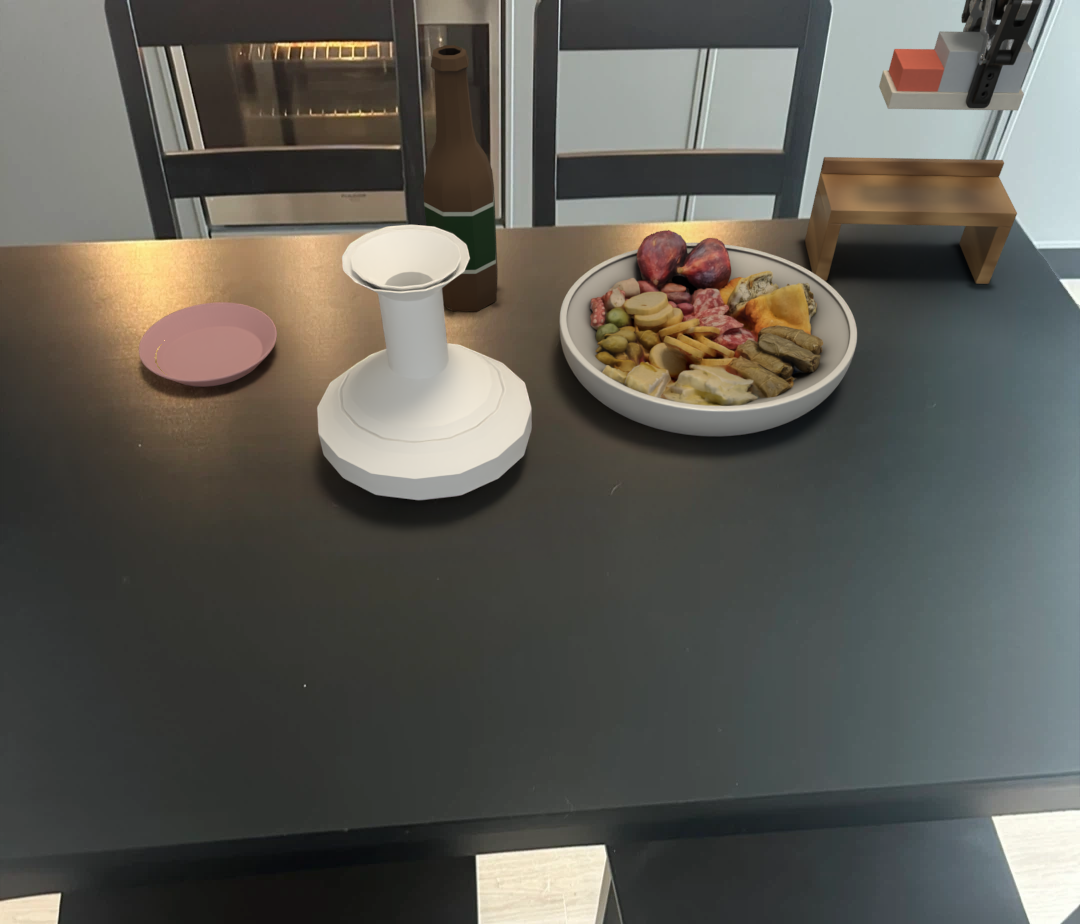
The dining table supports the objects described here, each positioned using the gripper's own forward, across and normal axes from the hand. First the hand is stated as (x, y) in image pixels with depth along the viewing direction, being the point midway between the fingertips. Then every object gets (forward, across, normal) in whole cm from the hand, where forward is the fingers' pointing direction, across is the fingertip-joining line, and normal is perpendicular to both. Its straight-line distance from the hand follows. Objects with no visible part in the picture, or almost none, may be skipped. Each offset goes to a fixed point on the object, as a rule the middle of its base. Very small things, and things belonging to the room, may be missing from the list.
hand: (969, 93), depth 95 cm
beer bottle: (+18, -8, +52) cm, 56 cm away
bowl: (+18, -20, +26) cm, 38 cm away
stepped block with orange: (0, 0, +2) cm, 2 cm away
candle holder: (+18, -36, +53) cm, 67 cm away
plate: (+18, -21, +78) cm, 83 cm away
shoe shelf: (+18, +1, +2) cm, 18 cm away
